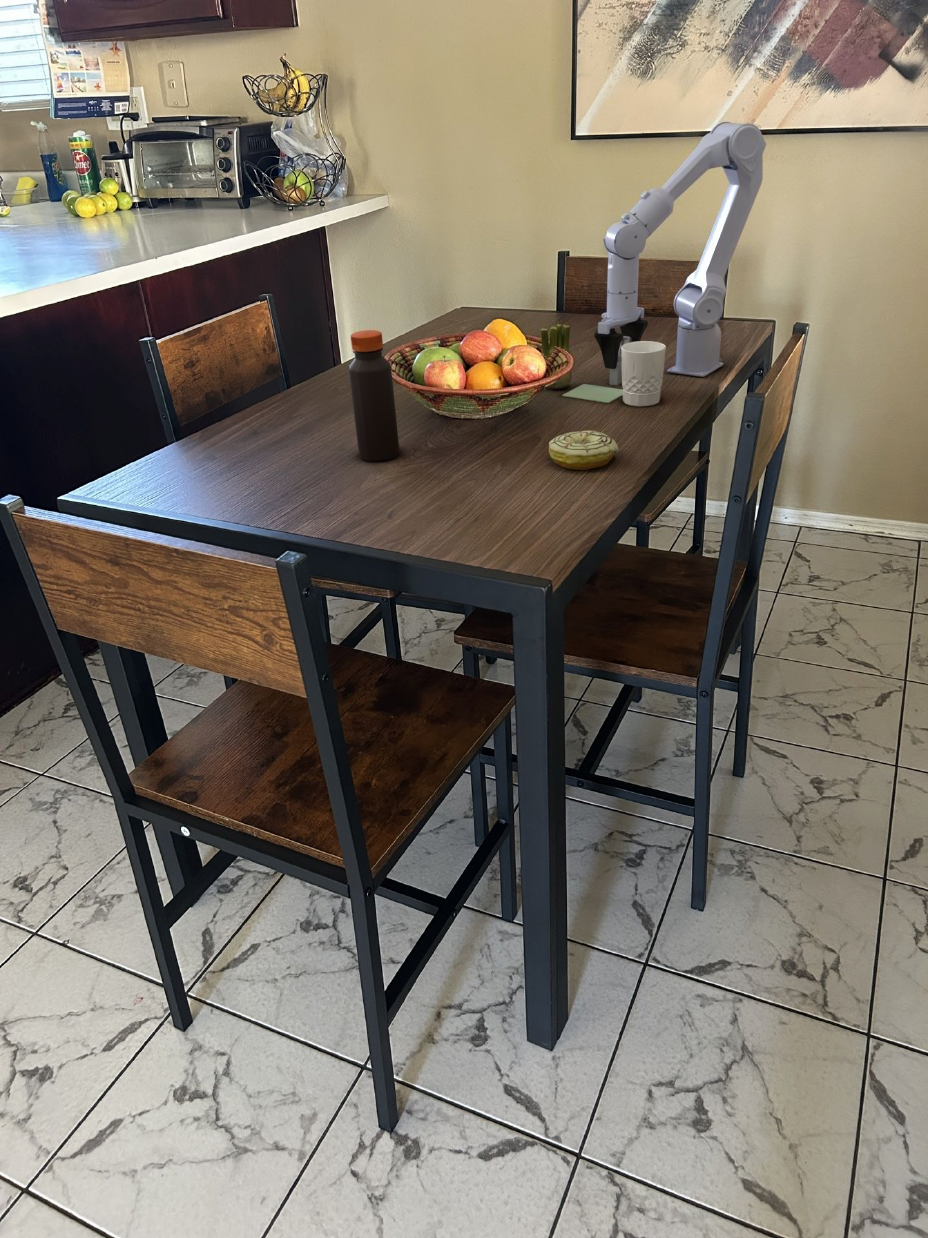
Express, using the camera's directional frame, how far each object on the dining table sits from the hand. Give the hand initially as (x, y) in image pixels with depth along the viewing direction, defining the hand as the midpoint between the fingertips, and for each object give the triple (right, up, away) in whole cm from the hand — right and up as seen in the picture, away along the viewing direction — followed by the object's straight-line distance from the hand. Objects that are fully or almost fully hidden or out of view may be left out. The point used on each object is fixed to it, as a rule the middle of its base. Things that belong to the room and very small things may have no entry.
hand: (620, 363), depth 183 cm
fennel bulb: (-12, -5, 0) cm, 13 cm away
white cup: (+2, -10, -11) cm, 15 cm away
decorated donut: (-12, -25, -34) cm, 44 cm away
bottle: (-45, -23, -27) cm, 57 cm away
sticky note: (-6, -7, -5) cm, 10 cm away
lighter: (0, -3, +2) cm, 4 cm away
